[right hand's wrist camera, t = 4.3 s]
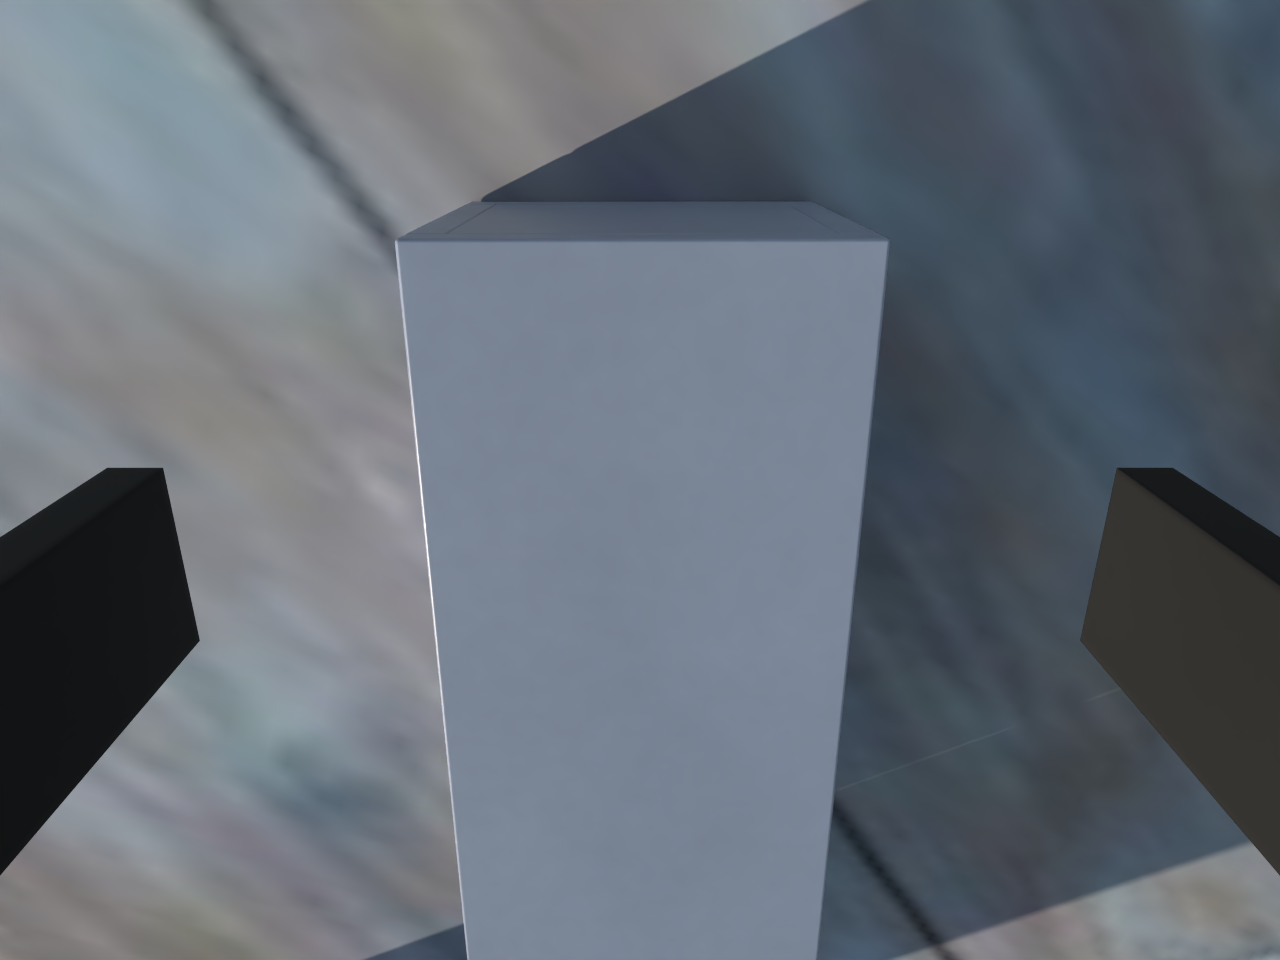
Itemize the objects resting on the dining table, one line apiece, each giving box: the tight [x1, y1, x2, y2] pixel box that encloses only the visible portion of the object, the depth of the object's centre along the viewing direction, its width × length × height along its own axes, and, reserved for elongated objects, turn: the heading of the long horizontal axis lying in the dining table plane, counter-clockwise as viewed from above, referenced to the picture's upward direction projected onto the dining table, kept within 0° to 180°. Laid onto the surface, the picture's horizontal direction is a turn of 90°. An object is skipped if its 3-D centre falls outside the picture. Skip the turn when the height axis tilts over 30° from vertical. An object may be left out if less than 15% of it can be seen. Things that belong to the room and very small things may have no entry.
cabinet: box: [395, 201, 890, 960], centre depth 25 cm, size 20×10×8 cm, turn 0°
